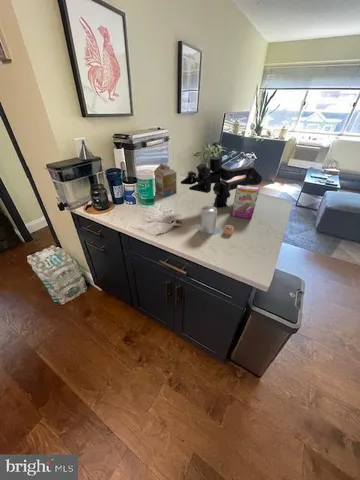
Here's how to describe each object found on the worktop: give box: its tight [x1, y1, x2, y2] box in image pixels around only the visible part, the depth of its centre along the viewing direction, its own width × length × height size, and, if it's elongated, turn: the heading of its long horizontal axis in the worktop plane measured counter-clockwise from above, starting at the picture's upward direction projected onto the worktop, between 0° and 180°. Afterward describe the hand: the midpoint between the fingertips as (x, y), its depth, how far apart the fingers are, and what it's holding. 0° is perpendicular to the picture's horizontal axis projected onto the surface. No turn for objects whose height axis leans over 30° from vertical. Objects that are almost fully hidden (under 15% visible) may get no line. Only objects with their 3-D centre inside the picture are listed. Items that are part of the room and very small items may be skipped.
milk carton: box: [153, 162, 178, 197], centre depth 131 cm, size 11×11×19 cm
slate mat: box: [195, 225, 223, 238], centre depth 98 cm, size 10×10×1 cm
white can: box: [199, 205, 218, 236], centre depth 94 cm, size 7×7×12 cm
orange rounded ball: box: [223, 224, 235, 236], centre depth 95 cm, size 4×4×4 cm
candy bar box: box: [231, 185, 260, 220], centre depth 105 cm, size 11×5×16 cm, turn 71°
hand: (184, 185), depth 102 cm, fingers open, 9 cm apart
